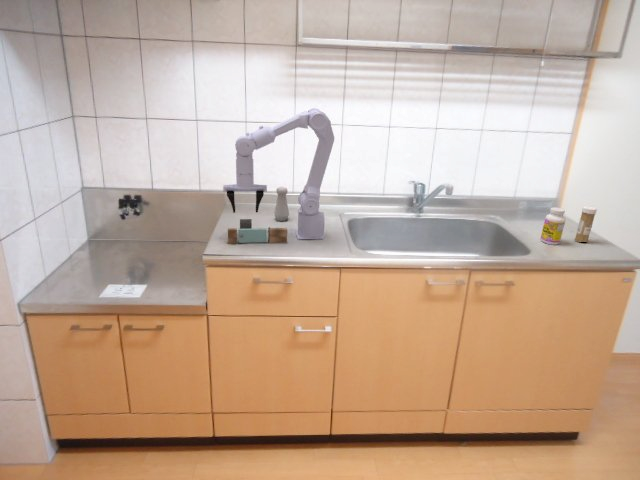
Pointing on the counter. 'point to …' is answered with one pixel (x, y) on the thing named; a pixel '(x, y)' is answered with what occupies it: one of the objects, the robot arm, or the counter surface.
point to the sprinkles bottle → (585, 223)
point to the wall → (273, 235)
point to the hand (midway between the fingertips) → (245, 211)
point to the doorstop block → (245, 223)
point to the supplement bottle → (553, 226)
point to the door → (252, 235)
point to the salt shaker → (281, 205)
